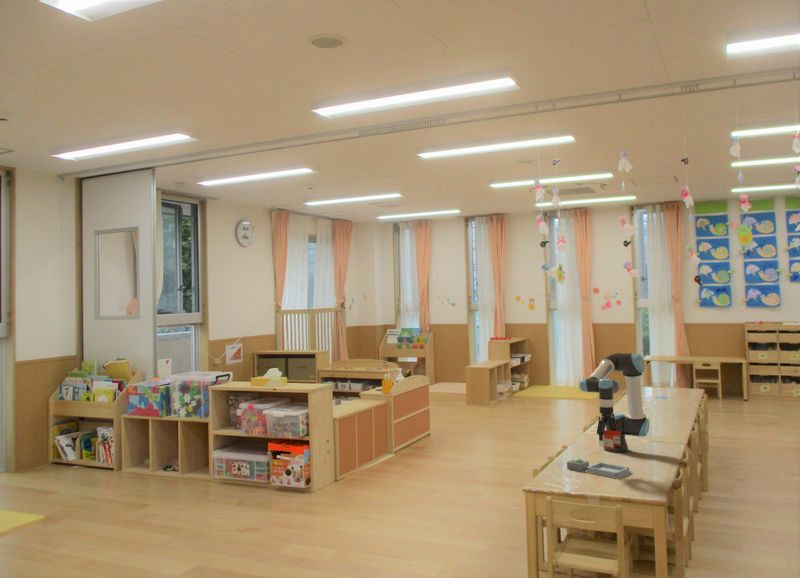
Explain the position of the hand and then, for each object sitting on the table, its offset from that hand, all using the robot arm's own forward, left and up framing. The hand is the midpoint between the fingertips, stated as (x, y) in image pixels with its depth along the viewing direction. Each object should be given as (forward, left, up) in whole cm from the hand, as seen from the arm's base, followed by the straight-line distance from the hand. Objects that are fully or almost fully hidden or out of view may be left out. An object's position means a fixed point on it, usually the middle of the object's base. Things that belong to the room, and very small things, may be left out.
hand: (607, 444), depth 359 cm
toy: (0, +1, -1) cm, 1 cm away
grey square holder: (+3, -17, -16) cm, 24 cm away
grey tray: (0, 0, -16) cm, 16 cm away
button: (+3, -17, -15) cm, 23 cm away
